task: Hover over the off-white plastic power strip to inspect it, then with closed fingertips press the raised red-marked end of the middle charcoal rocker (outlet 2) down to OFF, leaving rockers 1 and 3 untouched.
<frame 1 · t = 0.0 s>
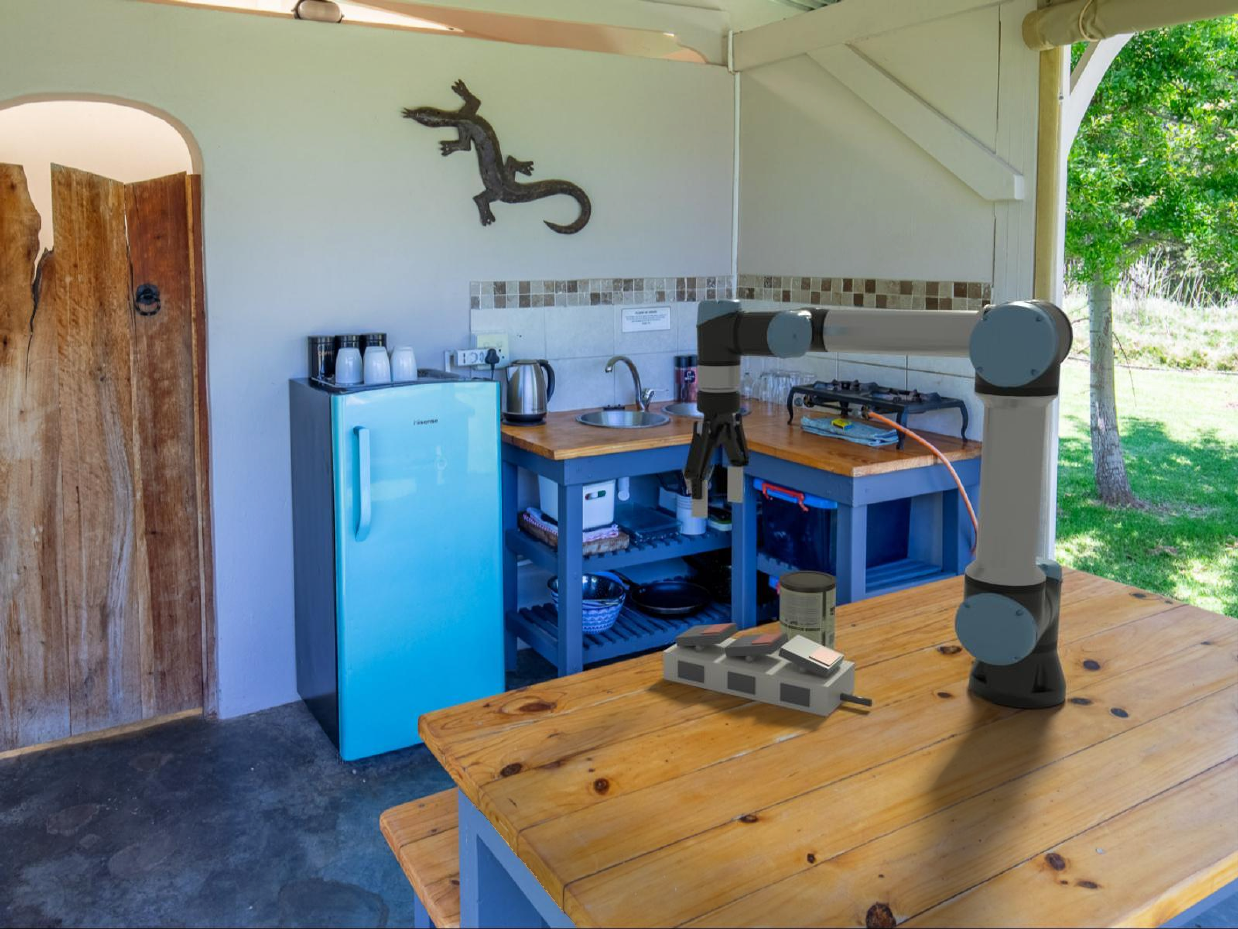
hand: (717, 509, 186), 28 cm above the table, fingers open, 13 cm apart
rocker 2: (756, 644, 178), point 7 cm above the table, hinge at 14.0°
rocker 1: (811, 655, 173), point 7 cm above the table, hinge at -14.0°
coffee can: (806, 652, 195), on the table
power strip: (757, 684, 180), on the table
rocker 3: (706, 634, 183), point 7 cm above the table, hinge at 14.0°
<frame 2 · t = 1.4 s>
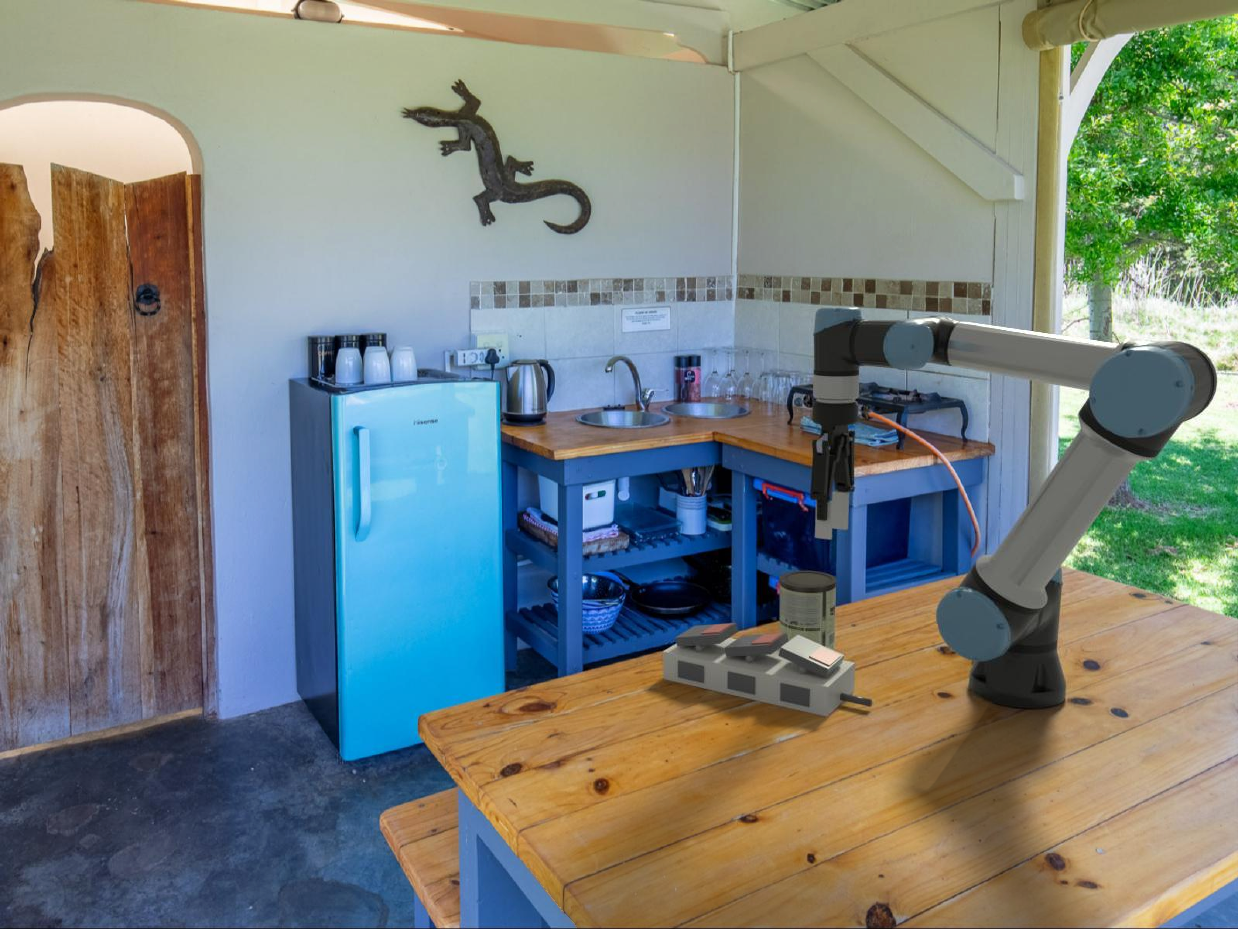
hand: (831, 533, 181), 25 cm above the table, fingers open, 7 cm apart
nothing on the table moved.
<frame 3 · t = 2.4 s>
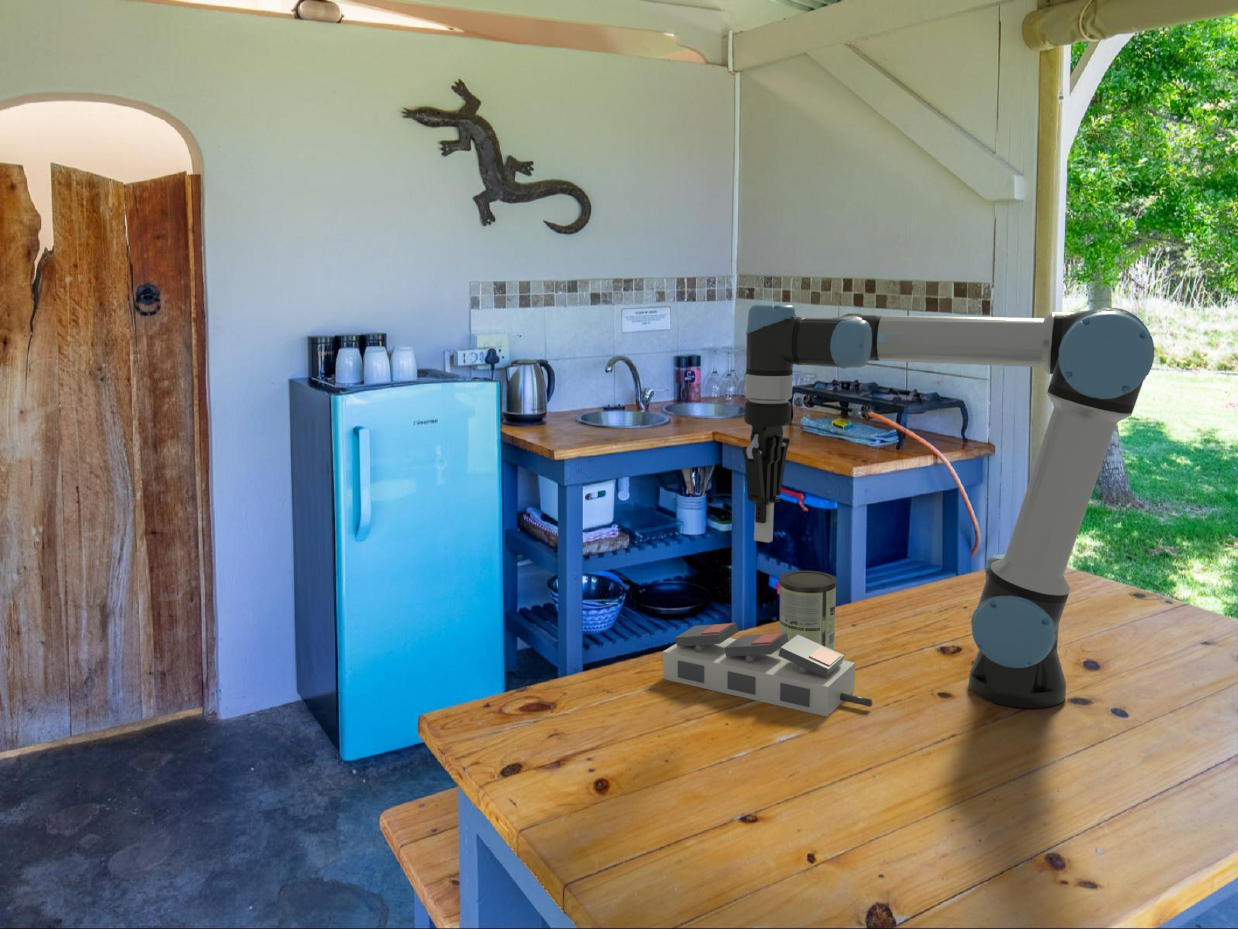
hand: (763, 540, 176), 25 cm above the table, fingers closed
nothing on the table moved.
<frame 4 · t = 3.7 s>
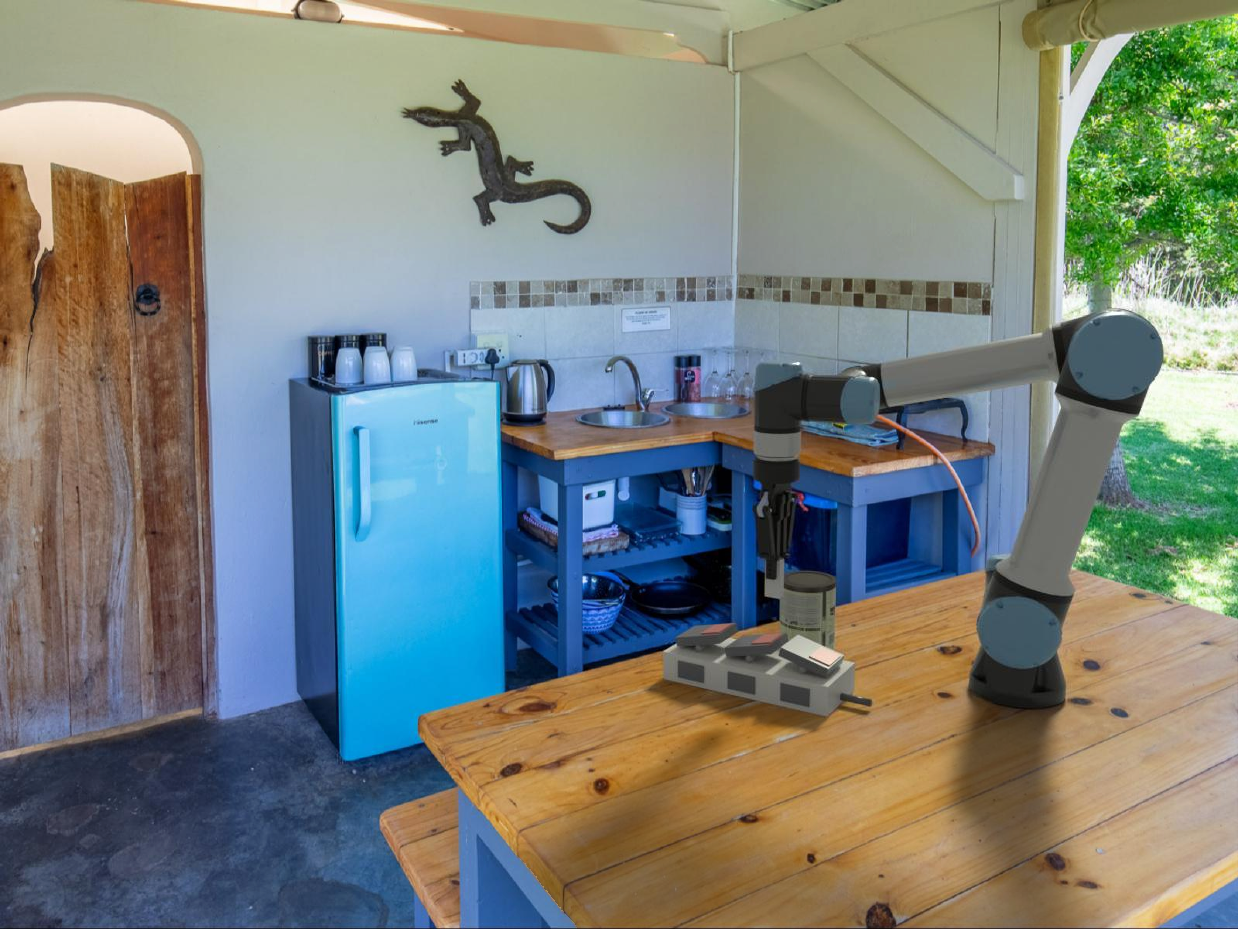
hand: (774, 596, 175), 16 cm above the table, fingers closed
nothing on the table moved.
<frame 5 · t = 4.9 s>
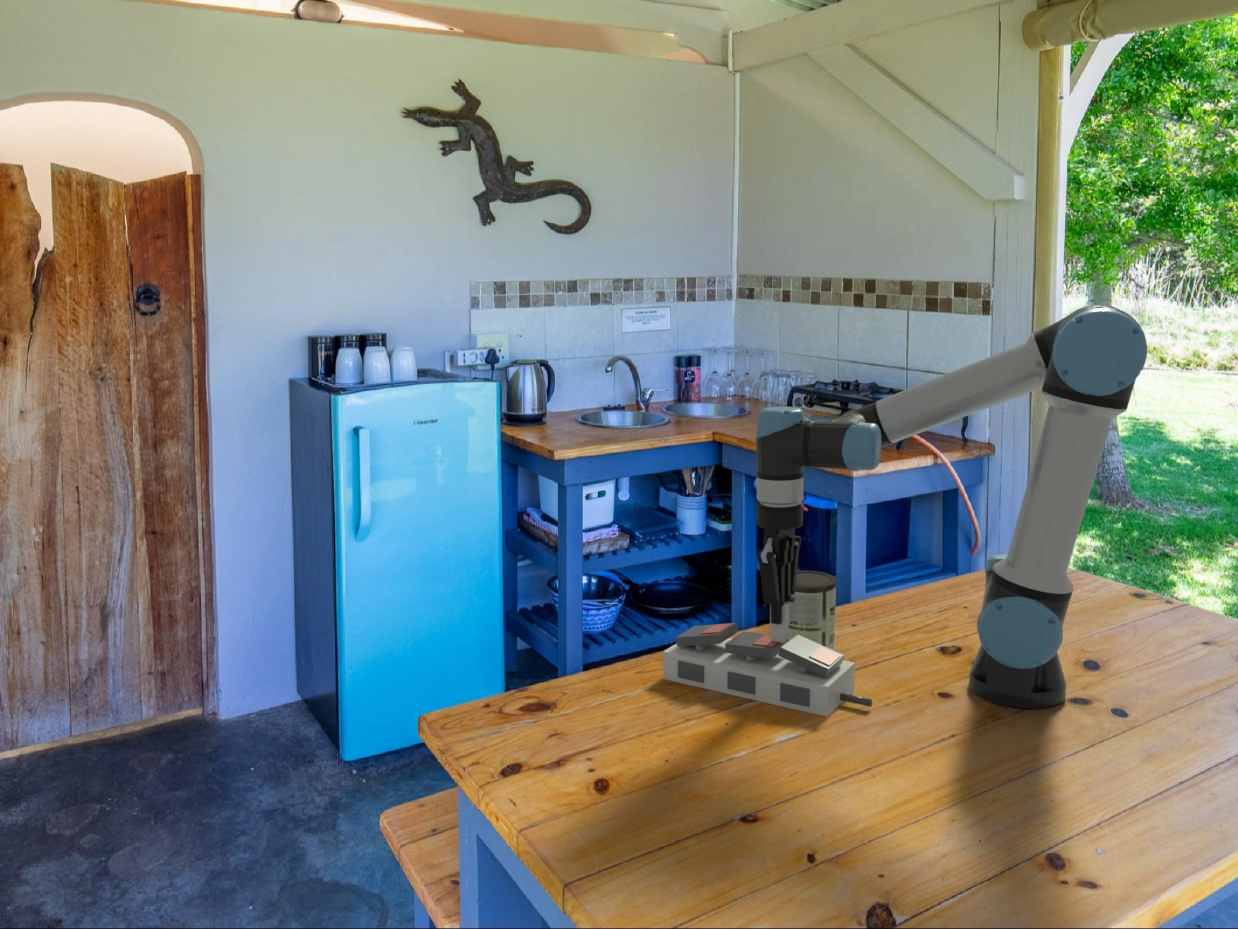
hand: (779, 640, 176), 9 cm above the table, fingers closed
rocker 2: (757, 644, 178), point 7 cm above the table, hinge at 4.5°, touching gripper
everything else where it was.
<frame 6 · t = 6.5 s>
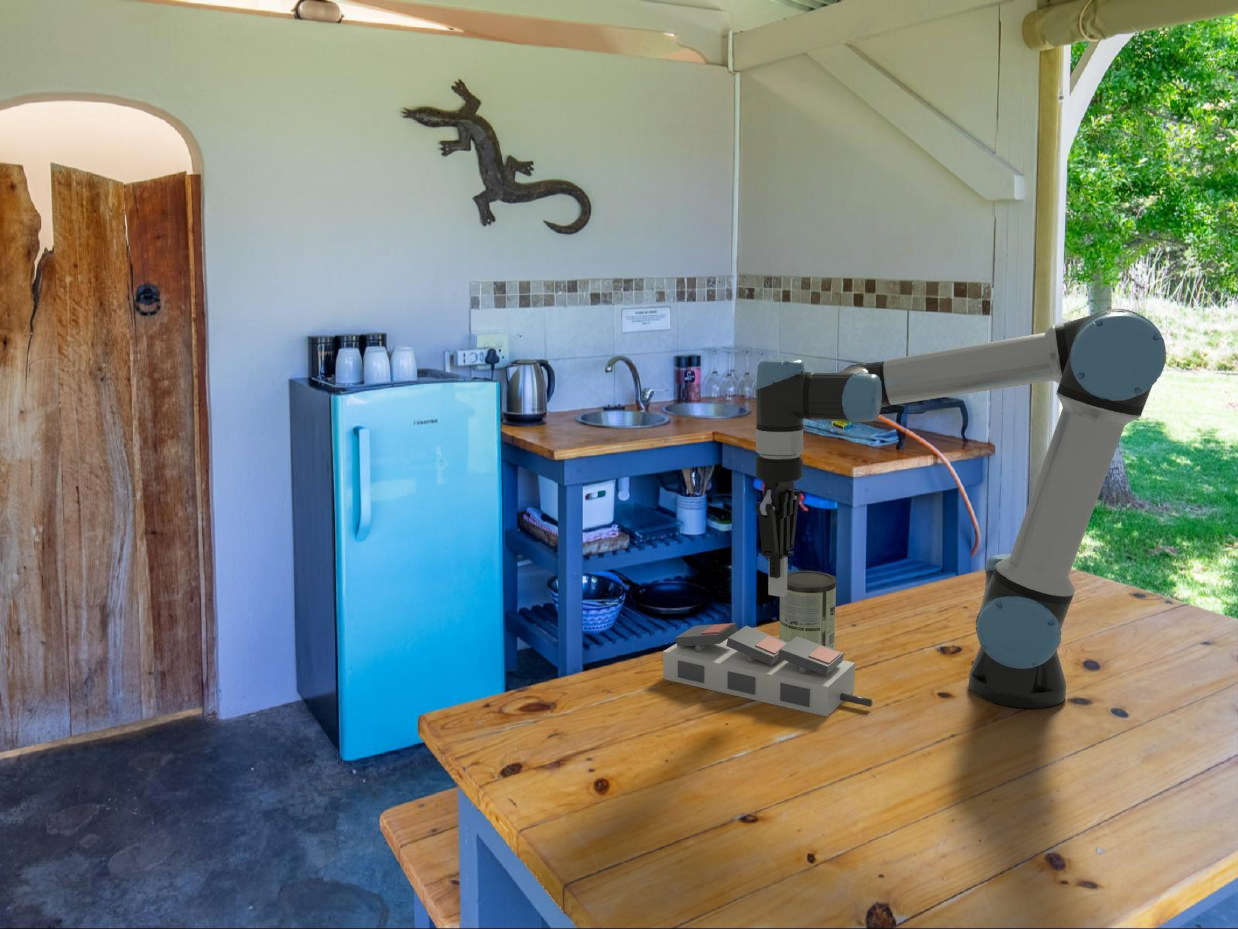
hand: (777, 594, 175), 16 cm above the table, fingers closed
rocker 2: (758, 644, 178), point 7 cm above the table, hinge at -12.1°
rocker 1: (811, 654, 173), point 7 cm above the table, hinge at -9.1°
everything else where it was.
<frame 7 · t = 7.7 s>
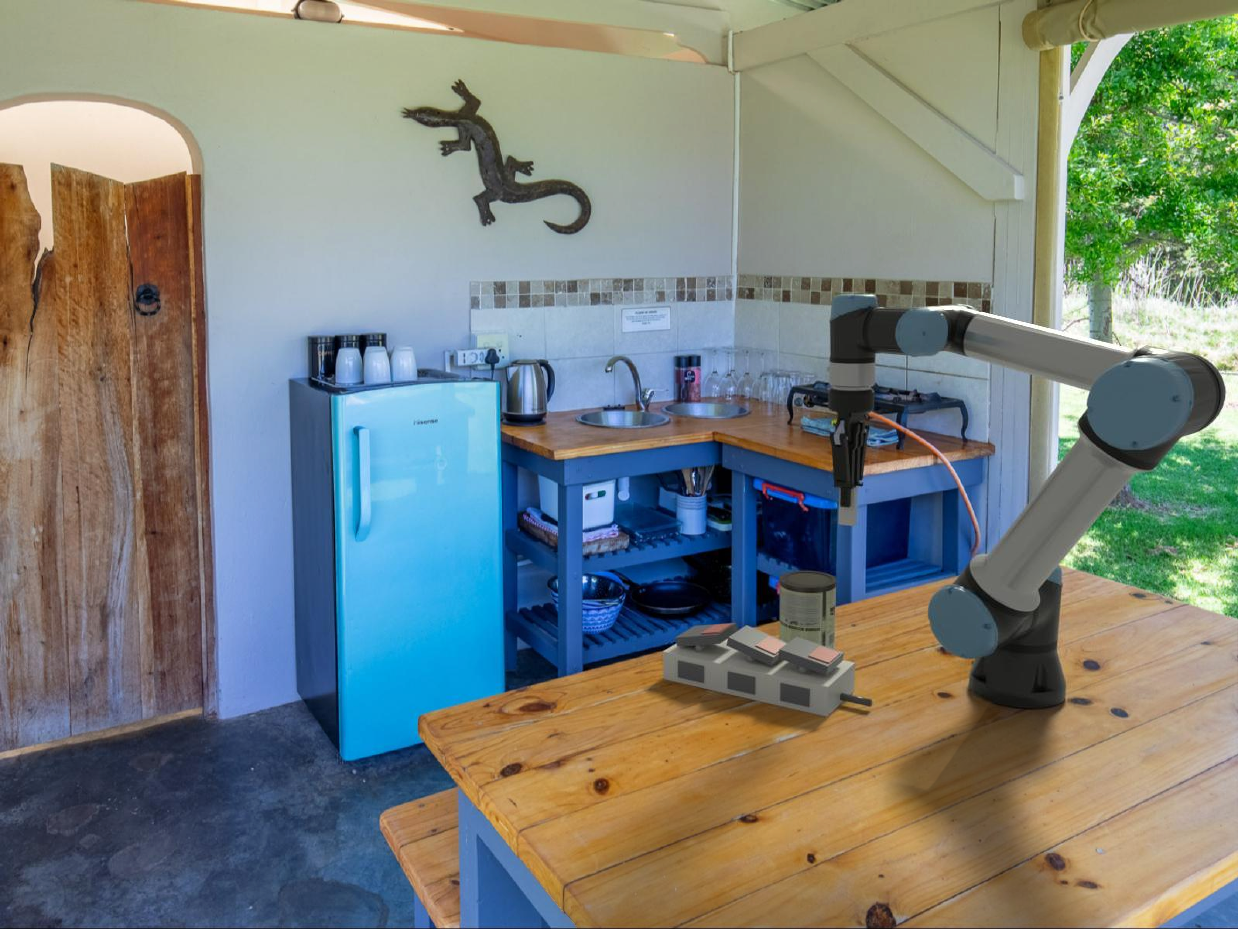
hand: (847, 524, 181), 26 cm above the table, fingers closed
rocker 2: (758, 644, 178), point 7 cm above the table, hinge at -13.3°
rocker 1: (811, 654, 173), point 7 cm above the table, hinge at -8.3°
everything else where it was.
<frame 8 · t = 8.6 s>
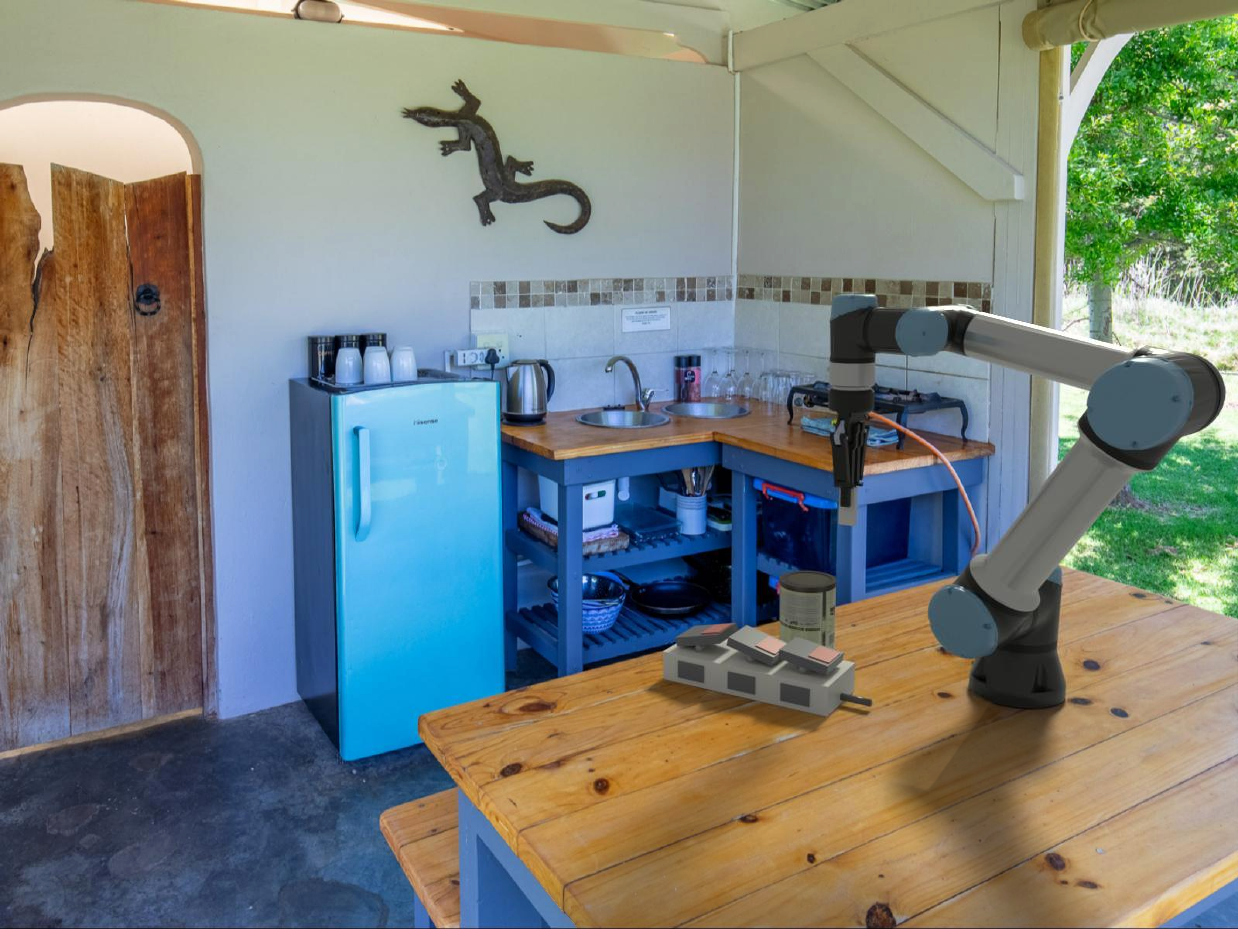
hand: (847, 524, 181), 26 cm above the table, fingers closed
nothing on the table moved.
at the end: rocker 2 at -14° (first picture: +14°); rocker 1 at -8° (first picture: -14°); rocker 3 at +14° (first picture: +14°) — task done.
